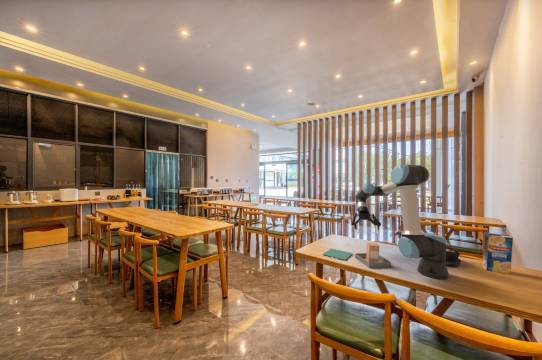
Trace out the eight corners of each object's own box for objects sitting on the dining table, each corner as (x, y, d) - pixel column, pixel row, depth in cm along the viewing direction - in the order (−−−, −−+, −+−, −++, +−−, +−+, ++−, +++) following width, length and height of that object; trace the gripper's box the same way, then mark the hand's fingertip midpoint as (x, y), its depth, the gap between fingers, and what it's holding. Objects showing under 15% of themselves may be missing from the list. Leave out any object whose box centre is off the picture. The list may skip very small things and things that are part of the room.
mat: (352, 254, 167) (352, 253, 167) (345, 260, 154) (345, 259, 154) (331, 249, 177) (331, 248, 177) (322, 255, 164) (322, 254, 164)
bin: (390, 266, 146) (391, 262, 146) (369, 267, 144) (369, 263, 144) (374, 257, 163) (375, 252, 163) (355, 257, 161) (355, 253, 160)
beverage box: (510, 274, 139) (513, 237, 139) (486, 270, 144) (488, 235, 144) (505, 270, 145) (508, 235, 145) (482, 266, 151) (484, 232, 150)
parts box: (375, 260, 156) (376, 242, 156) (378, 264, 150) (379, 245, 150) (366, 260, 157) (366, 242, 156) (368, 263, 151) (369, 245, 150)
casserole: (423, 252, 175) (424, 241, 174) (453, 256, 168) (454, 245, 168) (432, 264, 152) (433, 252, 151) (468, 269, 145) (469, 256, 144)
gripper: (378, 212, 180) (385, 237, 165) (345, 211, 182) (348, 235, 168) (381, 206, 174) (388, 231, 160) (346, 205, 177) (350, 230, 162)
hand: (368, 233), depth 164 cm, fingers open, 13 cm apart
